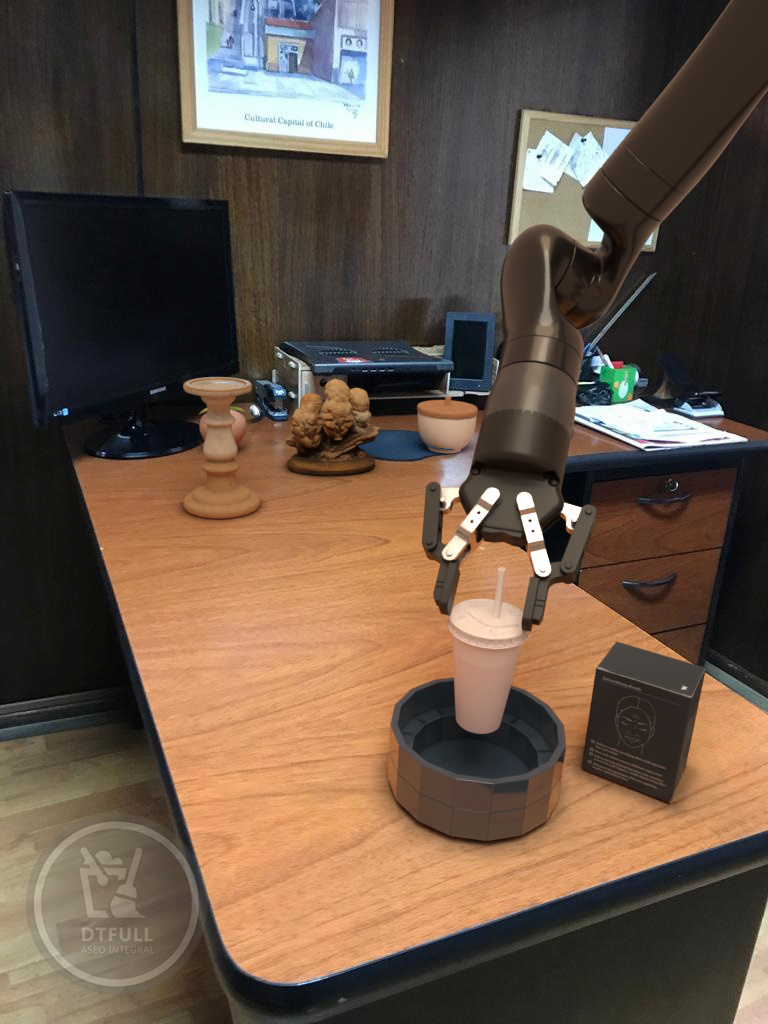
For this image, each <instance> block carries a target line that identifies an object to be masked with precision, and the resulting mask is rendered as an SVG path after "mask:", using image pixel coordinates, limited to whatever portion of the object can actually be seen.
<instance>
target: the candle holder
mask: <svg viewBox="0 0 768 1024" xmlns="http://www.w3.org/2000/svg"><path fill="white" fill-rule="evenodd" d="M182 385H183V386H182V388H183V390H184V392H185V393H187V394H189V395H192V396H198V397H200V398H201V401H202V402H203V403H205V406H206V408H208V412H207V415H206V416H205V417H204V418H203V422H204V423H205V424H206V425H207V432H206V438H205V440H204V442H203V444H202V445H203V446H202V454H203V456H204V457H205V458H207V459H206V460H204V462H203V463H202V465H201V469H202V470H203V471H204V473H205V474H206V482H205V483H206V484H203V485H200V486H198V487H196V488H195V489H194V490H193V491H190V492H189V493H187V494H186V495H185V496H184V498H183V500H182V506H183V510H185V512H187V513H188V514H190V515H193V516H196V517H198V518H203V519H213V520H214V519H215V520H217V519H219V520H222V519H224V520H225V519H233V518H239V517H243V516H247V515H250V514H252V513H254V512H255V511H257V510H258V509H259V508H260V506H261V497H260V495H259V494H258V492H255V491H254V490H252V489H250V488H248V487H247V486H245V485H242V484H240V483H237V478H236V473H237V472H238V470H239V469H240V463H239V462H238V461H237V460H236V459H235V457H236V456H237V454H238V452H239V449H238V444H236V442H235V439H234V435H233V431H232V424H234V423H235V418H234V417H233V416H232V415H231V413H230V406H232V403H234V402H235V401H236V397H238V396H239V397H240V396H243V395H246V394H248V393H250V392H251V391H252V389H253V384H252V382H251V381H250V380H247V379H243V378H238V377H228V376H208V377H207V376H206V377H196V378H192V379H189V380H185V381H184V382H183V384H182Z"/></svg>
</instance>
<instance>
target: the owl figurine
mask: <svg viewBox="0 0 768 1024" xmlns="http://www.w3.org/2000/svg"><path fill="white" fill-rule="evenodd" d="M324 395H325V401H324V399H323V398H322V397H321V395H319V394H318V393H313V392H312V393H311V392H310V393H309V392H308V393H306V394H304V395H303V396H302V397H301V399H300V402H299V407H297V408H296V409H294V412H293V414H292V420H291V427H290V430H291V433H292V435H290V436H289V437H287V438H286V439H285V444H286V445H287V446H288V447H291V448H295V449H296V453H295V454H293V455H292V456H291V458H289V459H288V460H287V462H286V466H287V469H288V470H290V471H292V472H293V473H295V474H300V475H309V476H329V477H331V476H348V475H357V474H361V473H365V472H368V471H371V470H372V469H373V468H374V467H375V466H376V459H375V458H374V457H373V456H371V454H370V453H368V452H366V449H365V448H361V447H360V446H363V445H366V444H370V443H372V442H375V441H376V438H377V437H378V436H379V433H380V431H381V427H379V426H376V425H375V426H371V425H370V423H371V420H372V419H371V418H372V413H371V412H370V411H369V410H370V400H369V395H368V392H367V391H366V390H365V389H362V388H359V387H354V388H351V389H350V387H349V386H348V385H347V383H346V382H345V381H343V380H341V379H337V378H333V379H331V380H329V381H328V382H326V384H325V386H324Z"/></svg>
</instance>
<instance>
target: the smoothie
mask: <svg viewBox="0 0 768 1024" xmlns="http://www.w3.org/2000/svg"><path fill="white" fill-rule="evenodd" d="M496 574H497V576H496V585H495V593H494V598H493V599H492V598H471V599H466V600H463V601H460V602H458V603H456V604H454V605H453V608H452V612H451V615H450V616H448V619H447V628H448V630H449V631H448V632H450V634H451V646H452V665H453V667H452V668H453V677H454V689H455V711H456V721H457V723H458V724H459V725H460V726H461V727H462V728H463V729H465V730H467V731H469V732H472V733H477V734H487V733H491V732H494V731H495V730H497V729H498V728H499V726H500V724H501V720H502V716H503V713H504V709H505V706H506V702H507V698H508V695H509V691H510V688H511V685H512V684H513V680H514V676H515V673H516V669H517V665H518V661H519V658H520V655H521V651H522V647H523V643H525V642H526V641H527V639H528V638H529V636H530V632H529V631H524V630H522V626H521V623H522V616H523V611H524V610H522V609H521V608H519V607H518V606H516V605H513V604H512V603H509V602H506V601H503V595H504V588H505V587H504V586H505V585H504V584H505V579H506V578H505V577H506V568H505V567H503V566H501V567H500V566H499V567H498V568H497V573H496Z"/></svg>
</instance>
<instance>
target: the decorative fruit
mask: <svg viewBox="0 0 768 1024" xmlns="http://www.w3.org/2000/svg"><path fill="white" fill-rule="evenodd" d="M207 412H208V408H207V407H205V408H204V409H202V410H201V411H200V412H199V413H198V415H202V414H203V415H202V416H201V418H200V421H199V432H200V435H201V437H202V439H203V440H204V441H205V438H206V432H207V425H206V424H205V423H204V422H203V418H204V417H205V416H206V415H207ZM230 413H231V415H232V416H233V417H234V418H235V423H234V424H232V431H233V435H234V439H235V442H236V444H237V445H239V444H240V443H241V442H242V441H243V439H244V437H245V435H246V431H247V421H246V418H245V416H244V414H245V415H247V414H248V413H247V412H246V411H245V410H244V409H243V408H241V407H238V406H234V405H233V406H232V405H231V406H230Z"/></svg>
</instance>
